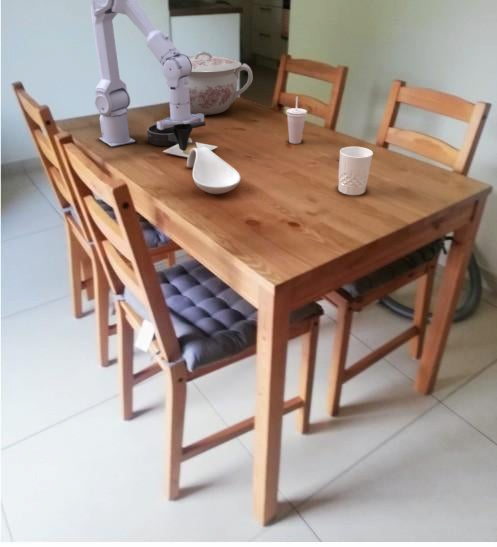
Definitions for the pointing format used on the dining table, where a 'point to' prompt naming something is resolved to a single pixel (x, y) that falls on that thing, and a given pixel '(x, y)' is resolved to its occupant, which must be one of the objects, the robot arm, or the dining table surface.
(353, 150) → the white cup
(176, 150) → the dessert
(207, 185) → the spoon rest
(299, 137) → the smoothie
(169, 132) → the pan
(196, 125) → the pan handle
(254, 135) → the dining table surface
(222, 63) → the chamber pot
